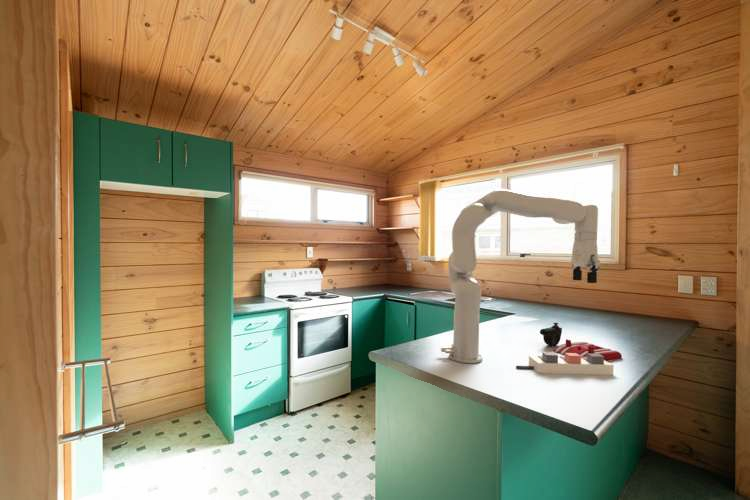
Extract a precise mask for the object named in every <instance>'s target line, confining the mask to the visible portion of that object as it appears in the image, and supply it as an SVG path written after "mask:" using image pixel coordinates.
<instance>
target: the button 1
mask: <svg viewBox="0 0 750 500" xmlns="http://www.w3.org/2000/svg"><path fill="white" fill-rule="evenodd" d="M541 356H542V361H544V362H545V363H558V357H559V355H558V353H555V352H552V351H551V352H550V351H549V352H545V351H543V352H542V354H541Z"/></svg>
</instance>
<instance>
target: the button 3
mask: <svg viewBox="0 0 750 500" xmlns="http://www.w3.org/2000/svg"><path fill="white" fill-rule="evenodd" d="M587 362H589V363H591V364H603V365H604V356H602V355H600V354H588V353H587Z"/></svg>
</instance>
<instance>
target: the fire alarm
mask: <svg viewBox="0 0 750 500" xmlns="http://www.w3.org/2000/svg"><path fill="white" fill-rule="evenodd" d="M552 353H555V354H557V355H558V354H559V355H560V356H565V353H577V354H578V355H580V356H581V357H587V353H588V354H600V355H602V356H604V360H605V361H607V362H608V361H609V360H610V361H615V360H622V358H623V357H622V353H621V352H620V351H617V350H615V349H613V350H612V349H611V348H606V347H602V346H599V345H596V344H594V343H589V342H587V341H577V342H572V341H571V340H570V339H567V338H566V339H565V343H563V344H560V345H559V346H557V347H555V348H554V349H553V350H552Z"/></svg>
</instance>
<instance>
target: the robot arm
mask: <svg viewBox="0 0 750 500" xmlns="http://www.w3.org/2000/svg"><path fill="white" fill-rule="evenodd" d="M499 212H500V213H506V214H512V215H517V216H520V217H523V218H524V217H525V218H534V219H535V218H550V219H552V221H554V222H555V223H557V224H559V225H568V224H574V241H573V245H572V252H571V259H570V262H571V266H572V280H573V281H582V278H583V276H582V275H583V270H582V268H583V267H586V268H587V271H588V272H587V273H586V279H587V280H586V283H588V284H597V283H598V282H597V278H598V277H597V276H598V274H597V273H598V272H599V268H600V265H601V261H600V259H599V256H598V255H599V254H598V226H599V225H598V224H599V223H598V221H599V219H598V217H599V207H598V206H597V205H596V204H595V205H594V204H582V203H581V202H578V201H574V200H568V199H565V198H558V197H551V196H550V197H549V196H548V197H547V196H542V195H534V194H528V193H522V192H519V191H513V190H509V189H505V188H500V189H499V188H498V189H495V190H493V191H490V192H489V193H487V194H486V195H484V196H483V197H481V198H480V199H477V200H476V201H474V202H472V203H471V204H469V205H467V206H466V207H464V208H462V210H461V211H460V213H459V215H458V216H457V217H456V219H455V221H454V223H453V226H452V232H451V240H452V241H451V242H452V252H451V253H450V254H449V257H448V261H447V262H448V263H447V265H448V266H447V267H448V277H449V286H450V291H451V293H452V295H453V296H454V297H455V301H454V309H453V341H452V343H453V344H452V343H451V344H450V345H451V346H449V347H447V346H441V347H440V352H441V353H445V354H448V357H449V359H450V360H452V361H454V362H457V363H463V364H477V363H481V362H482V361H483V356H482V355H481V354H480V353H479V343H480V341H479V340H480V339H479V338H480V311H481V309H480V308H481V301H482V293H483V292H482V287H481V284H480V283H479V282H478V281H477V280H476V279H475V278H473V272H474V271H475V270H476V268H477V265H478V263H477V261H478V260H477V254H476V231H477V229H478V228H479V226H481V225H482V224H484V222H486V220H487V219H488V218H490V217H492V216H493V215H495V214H497V213H499Z"/></svg>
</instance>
